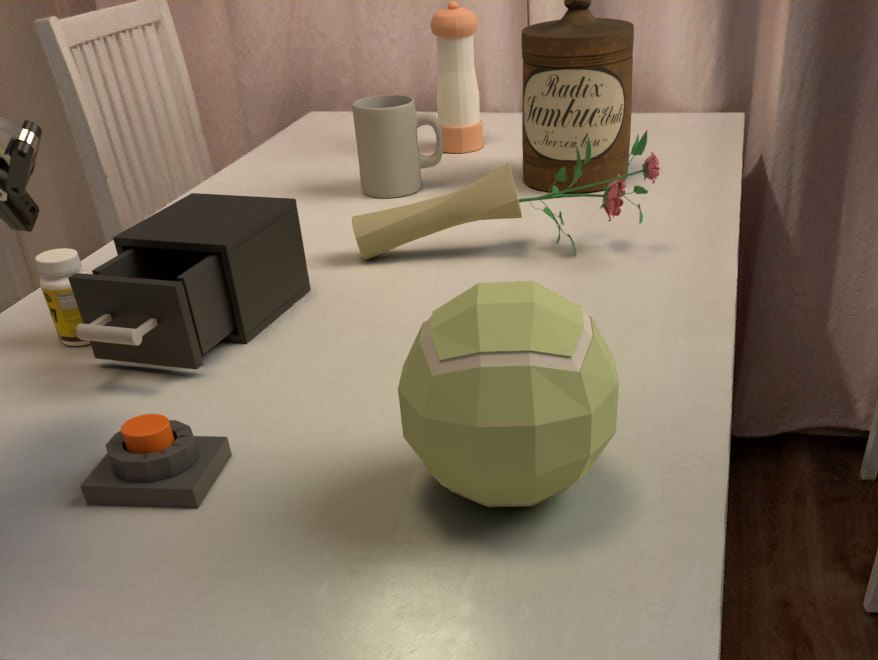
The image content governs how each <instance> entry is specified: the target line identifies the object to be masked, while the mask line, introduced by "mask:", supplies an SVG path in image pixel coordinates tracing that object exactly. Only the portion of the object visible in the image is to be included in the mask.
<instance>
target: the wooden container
mask: <svg viewBox="0 0 878 660" xmlns="http://www.w3.org/2000/svg"><path fill="white" fill-rule="evenodd" d="M591 4H592V0H563V5H564V6H565V8H566V9H567V10H566V11H565V13H564V14H563V16H562V17H561V18H560V19H555V20H548V21H543V22H542V21H541V22H537V23H534V24H530V25H527V26H525V27H523V28H522V29H521V40H520V41H521V42H520V43H521V46H520V47H521V59H522V107H521V108H522V110H521V111H522V112H521V125H522V126H521V136H522V137H521V138H522V139H521V142H522V143H521V144H522V145H521V147H522V148H521V149H522V179H523V182H524V183H525V184H526V185H527V186H529V187H531V188H533V189H536V190H538V191H539V190H540V191H544V192H549V193H552V187H551V185H552V184H553V183H554V182H555V181H556V180H557V179H556V178H555V176H556V174H557V173H558V171H559V170H560V169H562V168H563V167H565V166H566V172H565V173H566V181H559V180H557V181H556V182H555V183H554V184H553V185H552V186H556V187H557V188H558V190H559V192H560V191H565V190H569V189H573V188H578V187H582V186H586V185H591V184H595V183H598V182H602V181H606V180H609V179H613V178H616V177H617V175H620V176H623V175H626V174H629V170H628V171H627V168H628V169H629V167H628V162H630V156H629V155H630V146H631V132H632V107H633V106H632V104H633V103H632V102H633V101H632V100H633V99H632V97H633V69H634V68H633V65H634V56H633V55H634V42H635V25H634V23H632V22H630V21H627V20H623V19H617V18H606V17H595V15H594V14H593V13H592V11H591V10H590V9H589V8H591V7H590V6H591ZM588 138H589V141H590V144H591V159H590V161H589V162H587V163H586V164H584V160H585V156H586V146H587V139H588ZM576 146H577V147H578V150H579V153H580V157H581V166H582V165H583V164H584V165H583V166H582V167H581V168H580V170H581V172H582V173H581V176H580V177H579V178H578V180H577V182H576V181H575V179H574V166H575V167H577V150H576ZM628 157H629V159H628ZM573 179H574V181H575V182H576V184H575V182H574V181H573ZM621 179H622V178H621ZM621 179H620V182H621ZM627 179H628V177H624V178H623V182H624V183H625V182H626V180H627ZM572 182H573V183H574V184H573V183H572ZM611 182H612V181H611ZM611 182H609V183H611ZM571 183H572V184H573V185H572V184H571ZM609 183H608V182H607V183H604V184H600V185H596V186H592V187H588V188H584V189H579V190H575V191H570V192H566V193H565V194H585V193H591V192H599V191H603V190H604V186H606V187H608V184H609ZM570 185H572V186H571V187H570V188H568V187H569V186H570ZM550 187H551V189H550ZM567 188H568V189H567ZM549 189H550V191H549ZM604 191H605V190H604Z"/></svg>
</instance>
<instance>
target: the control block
mask: <svg viewBox="0 0 878 660" xmlns="http://www.w3.org/2000/svg"><path fill="white" fill-rule="evenodd" d="M168 420H169V423H170V426H171V429H172V433H173V436H174V443H173V444H172V445H171V446H169V447H167V448H165V449H163V450H161V451H157V452H152V453H148V454H132V453H130V452H128V450H127V447H126V444H125V441H124V439H123V436H122V433H121V430H119V431H118V432H115V433H114V434H113V435H112V437H111V438H110V439H109V440H108V441H107V443H106V444H105V449H106V454H105V456H104V457H103V458H102V459H101V460H100V462H99V463H97V465H96V466H95V467H94V468H93V470H92V471H91V472H90V473H89V475H88V476H87V477H86V478H85V479H84V480H83V482H81V484H80V486H79V487H80V490H81V493H82V496H83V498H84V500H85V504H86V505H87V506H111V507H112V506H114V507H115V506H116V507H117V506H118V507H147V508H149V507H150V508H172V509H173V508H174V509H176V508H177V509H179V508H180V509H199V507H200V506H201V504H202V503H203V501H204V499H205V498H206V496H207V495H208V493H209V492H210V490H211V488H212V487H213V486H214V484H215V483H216V481H217V479H218V477H219V476H220V474H221V473H222V472H223V470H224V468H225V467H226V465H227V463H228V462H229V461H230V459H231V457H232V456H233V455H232V450H231V446H230V442H229V438H228V436H213V435H212V436H211V435H194V432H193V430H192V428H191V426H190V425H188V424H186V423H184V422H181V421H180V420H176V419H168Z"/></svg>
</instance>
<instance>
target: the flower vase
mask: <svg viewBox="0 0 878 660" xmlns="http://www.w3.org/2000/svg"><path fill="white" fill-rule="evenodd" d="M647 143H648V129H646V130H645V132H644V133H643V135H642V136H641V138H640V134H639V133H638V134H637V136H636V138H635V141H634V143H633V145H632V147H631V150H630V152H629V157H628V159H629V162H628V168H627V171H628V174H626V175H623V176H620V175H617V177H616V178H613V179H609V180H606V181H602V182H598V183H595V184H591V185H586V186H582V187H578V188H573V189H569V190H565V191H560V192H559V190H558V188H557V187H556V186H552V185H553V184H554V183H555V182H556V181H557V180H559V181H566V173H565V172H566V166H565V167H563V168H562V169H560V170H559V171H558V173H557V174H556V176H555V178H556V179H557V180H556V181H555V182H554V183H553V184H552V185H551V187H552V192H548V191H547V192H548V193H546V194H543V195H539V196H534V197H525V198H519V196H518V192H517V187H516V183H515V181H514V180H515V179H514V175H513V170H512V165H511V163H510V162H507V163H505V164H503V165H502V166H500V167H498V168H497V169H495V170H493V171H492V172H490V173H489V174H487V175H486V176H483V177H482V178H480V179H479V180H477V181H476V182H474V183H472V184H470V185H468V186H466V187H463V188H460V189H459V190H455V191H453V192H450V193H447V194H445V195H440V196H437V197H433V198H429V199H426V200H421V201H418V202H414V203H410V204H409V203H408V204H406V205H401V206H396V207H393V208H388V209H387V208H386V209H384V210H379V211H373V212H368V213H363V214H357V215H353V216H351V225H352V230H353V235H354V239H355V241H356V244H357V247H358V250H359V252H360V255H361V256H362V258H363V259H364V260H365V261H368V260H370V259H373V258H375V257H377V256H379V255H382V254H385V253H386V252H389V251H391V250H394V249H396V248H398V247H400V246H403V245H406V244H408V243H411V242H414V241H417V240H420V239H422V238H425V237H427V236H430V235H434V234H436V233H439V232H441V231H444V230H448V229H450V228H453V227H457V226H460V225H464V224H468V223H473V222H478V221H488V220H489V221H490V220H505V219H506V220H508V219H523V215H522V209H521V204H520V203H523V202H529V204H530V206H531V207H532V208H534V209H535V210H538V207H537V208H536V207H534V205H532V203H531V202H534V201H535V202H536V201H540V202H541V203H542V204H543V205H544V206H545V207H543V209H541V208H539V210H540V211H542V212H543V213H544V214H545V215H547V216H548V217H550V218H551V219H552V220H553V222H554V223H555V225H556V226H557V228H558V236H557V239H556V242H555V246H557V245H558V244H559V243H560V240H561V232H562V233H563V235H565V236H567V237H568V238H569V240H570V241H571V244H572V247H573V250H574V251H573V252H574V255H575V256H577V249H576V246H575V242H574V240H573V238H572V236H571V235H570V234H568V233H567V234H566V233H565V232H564V230H563V229H562V226H564V225H565V222H564V220H563V213H562V211H561V210H560V211H559V213H558V215H557V214H556V213H554V212H553V211H552V210H551V209H550V208H549V207H548V205H547V204H546V203H545V202H543V201H544V200H553V199H562V198H580V197H583V198H584V197H585V198H587V197H588V198H602V204H601V206H600V207H599V210H601V209H603V210H604V212H605V214H606V215H607V217H608V221H607V222H608V223H609V222H611V221H612V219H614V218H615V217H620V215H621V213H622V208H621V207H623V205H624V203H625V202H624V200H623V199H622V198H625V199H626V200H627V201H628V202H630V203H631V204H632V205H634V206H635V207H637V209H638V210H639V219H638V221H639V222H638V224H639V226H640V225H641V224H642V223H643V220H644V215H643V212H642V209H641V204H640V203H638V204H635V203H634V202H633V201H631V200H630V199H629V198H628V197H626V195H630V194H634V193H635V194H636V195H646V194H647V193H649V190H648V189H646V188H645V187H643V186H641V185H634V186H633V191H632V192H626V190H625V189H626V187H627V184H626V183H625V181H624V182H623V178H624V177H627V178H628V177H631V176H634V175H638V174H640V173H642V175H643V176H644V177H643V181H645V180H646V179H648V180H650V181H652V185H653V184H655V183H656V180H657V178H658V177H659V175H660V172H659V171H660V167H659V166H660V162H659V158H658V157H657V156H656V154H655V153H654V152H653V151H650V155H649V156H648V157H647V158H645V160H644V162H643V163H641V166H642V169H640V170H637V171H633V172H630V173H629V167H630V164H631V162H632V161H633V160H634V157H636V156H642V155H643V153H644V152H645V151H646V146H647ZM576 150H577V167H575V166H574V179H575V181H576V182H577V180H578V178H579V177H580V176H581V173H582V172H581V170H580V168H581V167H582V166H583V165H584V164H586V163H587V162H589V161H590V159H591V144H590V141H589V138H588V139H587V146H586V156H585V160H584V164H583V165H582V166H581V157H580V153H579V150H578V147H577V146H576ZM631 155H632V157H631V159H630V156H631ZM621 178H622V179H621ZM574 179H573V181H574ZM620 179H621V182H620ZM575 181H574V182H575ZM611 181H612V182H611ZM576 182H575V184H576ZM607 182H608V183H609V182H611V183H609V184H608V187H606V186H604V191H603V194H602V193H601V194H600V193H566V192H570V191H575V190H579V189H584V188H588V187H592V186H596V185H600V184H604V183H607ZM572 183H573V182H572ZM572 183H571V184H572ZM573 184H574V183H573ZM573 184H572V185H573ZM572 185H570V186H569V187H568V188H570V187H571V186H572ZM551 187H550V189H551ZM568 188H567V189H568ZM550 189H549V191H550ZM555 216H556V217H555ZM611 216H612V217H611ZM557 218H558V219H559V220H560V223H559V222H558V220H557ZM561 225H562V226H561Z"/></svg>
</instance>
